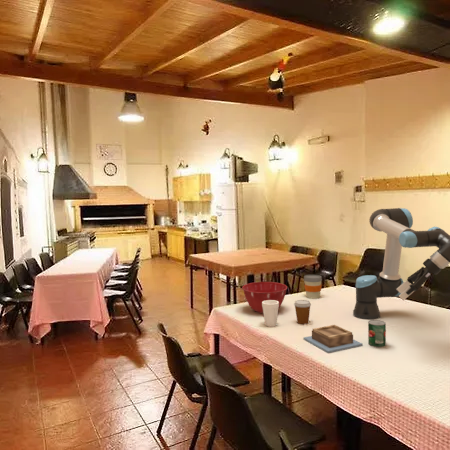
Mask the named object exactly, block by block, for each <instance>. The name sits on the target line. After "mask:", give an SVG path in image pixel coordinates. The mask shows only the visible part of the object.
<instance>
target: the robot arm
mask: <svg viewBox="0 0 450 450" xmlns="http://www.w3.org/2000/svg"><path fill="white" fill-rule="evenodd" d="M369 224H370V226H371V228H372V229H374V230H375V231H377V232H383V233H384V234H386V241H385V248H384V257H383V265H382V266H383V267H382V271H381V272H379V276H378V277H377V276H376V275H372V274H370V275H368V274H367V275H361V276H359V277H357V278H356V280H355V305H354V309H353V310H352V311H353V312H352V315H353V316H354V317H356V318H358V319H363V320H378V319H379V318H381V311H380V309H379V305H378V299H379V298H381V299H382V298H395V297H399V299H401V300H402V301H406V299H407V298H408V297H409V296H411V295H412V294H413V293H414V292H417V291H419V290H420V288H421V287H423V285H424V284H426V283H425V282H427V281H428V279H430V278H431V277H432V274H433V275H435V276H437V275H438V274H440V272H441V271H442V269H445V268H446V267H449V264H450V234H449V233H448V232H446V231H445V230H444V229H442V228H440V227H439V226H432V227H431V228H430V227H429V228H428V229H427V230H415V229H412V227H413V224H414V220H413V215H412V213H411V212H410V210H409V209H408V208H402V207H397V208H380V209H377V210H375V211H373V212H372V213H371V215H370V217H369ZM426 247H427V248H428V247H430V248H431V247H436V248H437V250H436V251H434V253H432V254H431V255H429V258H427V259H425V260H424V261H423V263H422V265H423V266H421V268H419V269H418V270H417V271H415V272H414V273H412V274H411V275H409V276H408V277H407V278H406V280H405V281H404V280H403V278H402V277H401V275H400V274H399V269H400V264H401V263H400V262H401V255H402V248H404V249H405V248H407V249H413V248H426Z"/></svg>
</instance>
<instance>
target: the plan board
mask: <svg viewBox="0 0 450 450" xmlns="http://www.w3.org/2000/svg"><path fill="white" fill-rule="evenodd" d="M303 340H304V341H306V342H307V343H308V344H310V345H312V346H315V347H316V348H318V349H320V350H322V351H324V352H325V353H326V354H331V353H335V352H340V351H345V350H348V349H354V348H358V347H363V346H364V345H363V343H362V342H360V341H358V340H355V339H354V338H353V343H350V344H345V345H340V346H336V347H331V348H329V347H327V346H325V345H323V344H321V343H320V342H318V341H316V340H314V339H312V335H310V336H304V337H303Z"/></svg>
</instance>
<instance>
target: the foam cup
mask: <svg viewBox="0 0 450 450" xmlns="http://www.w3.org/2000/svg"><path fill="white" fill-rule="evenodd" d="M262 307H263V313H262V314H263V317H264V324H265V326H266V327H270V328H271V327H277V323H278V313H279V309H278V307H279V302H278V301H275V300H266V301H263V302H262ZM279 308H280V307H279Z"/></svg>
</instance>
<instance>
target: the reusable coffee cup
mask: <svg viewBox="0 0 450 450" xmlns="http://www.w3.org/2000/svg"><path fill="white" fill-rule="evenodd" d="M303 281H304V284H303V285H304V291H305V295H306V298H307V299H310V300H317V299H320V297H321V291H322V286H323V285H322V281H323V279H322V275H318V274H306V275H304V276H303Z"/></svg>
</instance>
